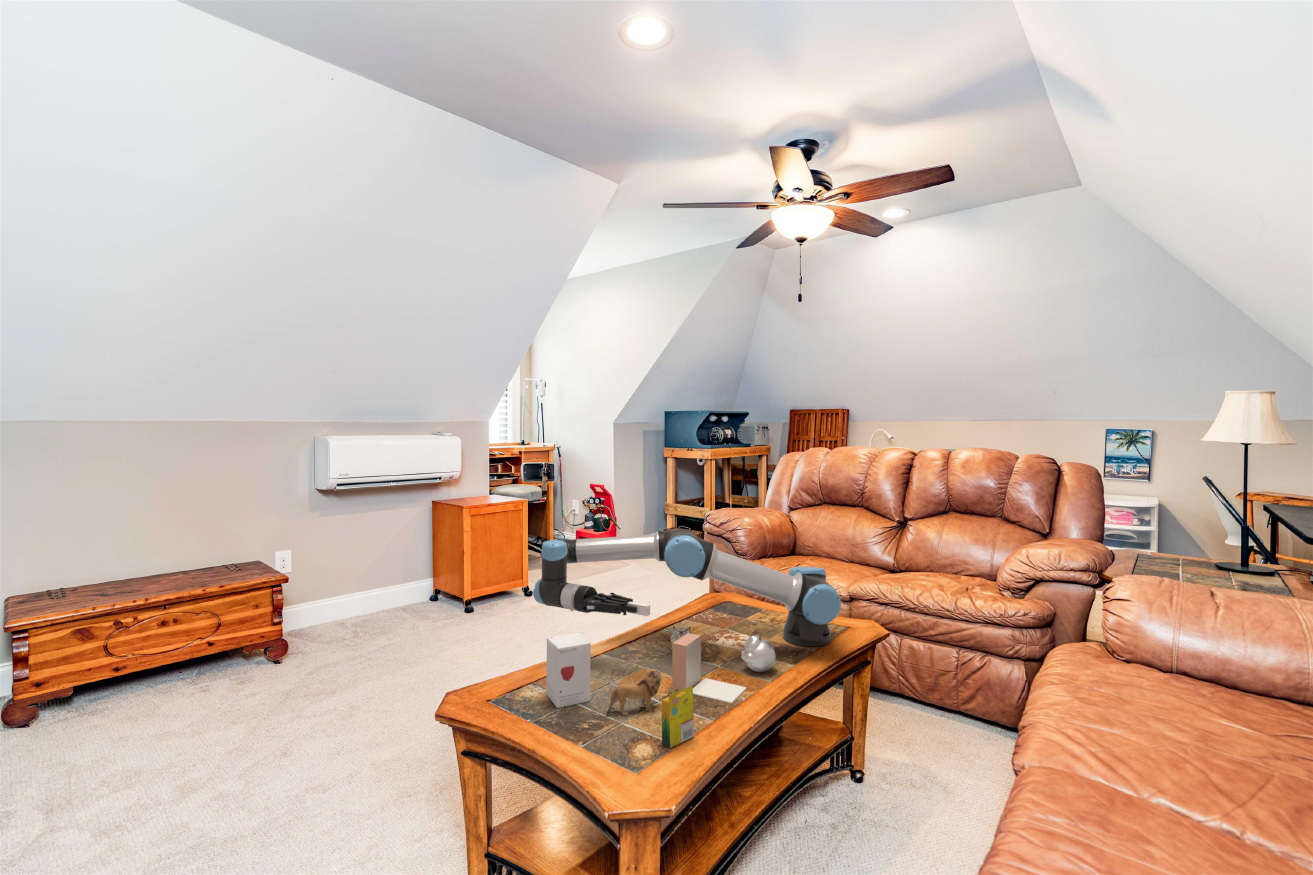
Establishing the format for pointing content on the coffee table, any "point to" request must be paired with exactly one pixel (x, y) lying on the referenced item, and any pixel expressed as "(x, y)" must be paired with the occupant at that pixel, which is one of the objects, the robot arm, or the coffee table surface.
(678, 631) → the game die
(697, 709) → the coffee table surface
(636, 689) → the lion figurine
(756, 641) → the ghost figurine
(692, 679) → the peach rectangular block
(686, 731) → the crayon box
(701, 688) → the felt mat
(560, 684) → the supplement box
